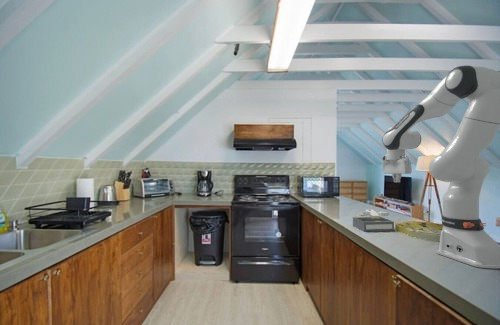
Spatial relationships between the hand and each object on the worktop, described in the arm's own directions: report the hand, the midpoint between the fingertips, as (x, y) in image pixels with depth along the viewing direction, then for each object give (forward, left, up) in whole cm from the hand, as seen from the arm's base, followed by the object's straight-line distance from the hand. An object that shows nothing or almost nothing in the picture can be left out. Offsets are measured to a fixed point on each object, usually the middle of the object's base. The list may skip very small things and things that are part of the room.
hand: (397, 182), depth 141 cm
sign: (-8, -11, -26) cm, 30 cm away
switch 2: (+5, +12, -18) cm, 22 cm away
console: (+5, +12, -26) cm, 29 cm away
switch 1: (+5, +17, -18) cm, 25 cm away
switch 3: (+5, +7, -18) cm, 19 cm away
